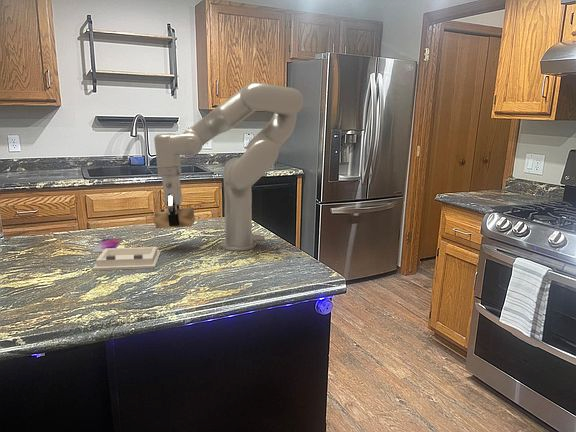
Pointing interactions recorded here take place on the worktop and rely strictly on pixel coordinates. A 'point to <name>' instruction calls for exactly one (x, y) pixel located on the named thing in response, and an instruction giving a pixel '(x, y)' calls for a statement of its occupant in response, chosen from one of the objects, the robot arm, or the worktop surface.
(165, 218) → the door panel
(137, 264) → the cabinet frame
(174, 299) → the worktop surface
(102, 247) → the smartphone
